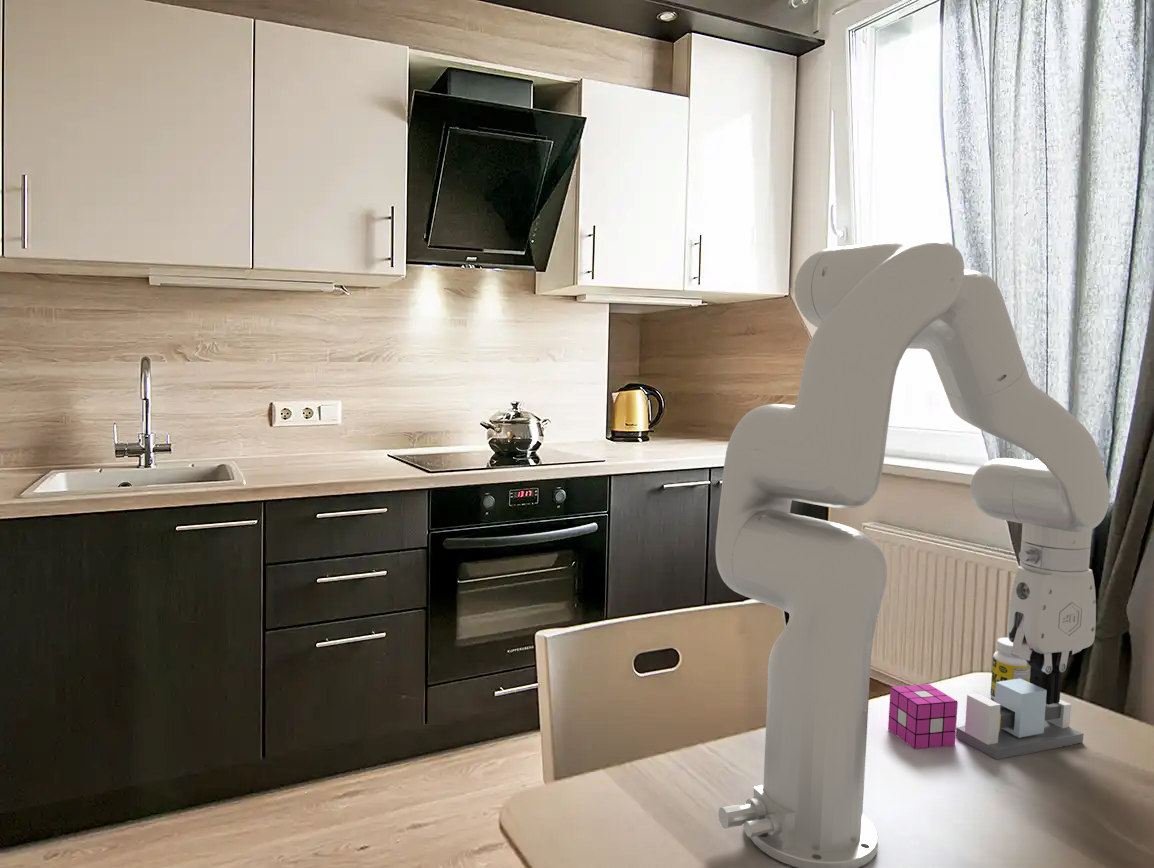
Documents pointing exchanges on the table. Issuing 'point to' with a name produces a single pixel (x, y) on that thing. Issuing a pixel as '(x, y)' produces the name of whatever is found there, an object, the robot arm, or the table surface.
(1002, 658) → the supplement bottle
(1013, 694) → the sleeve
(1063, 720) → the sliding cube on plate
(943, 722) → the puzzle toy
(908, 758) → the table surface
